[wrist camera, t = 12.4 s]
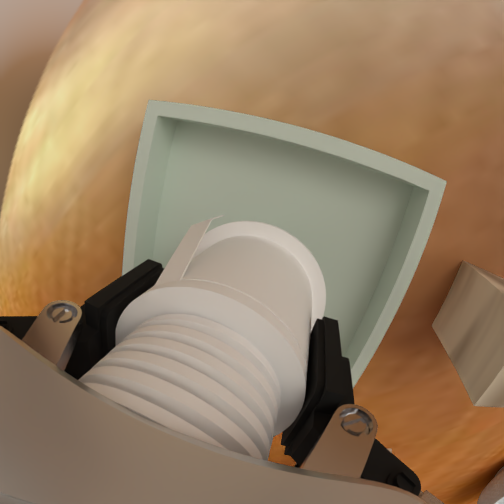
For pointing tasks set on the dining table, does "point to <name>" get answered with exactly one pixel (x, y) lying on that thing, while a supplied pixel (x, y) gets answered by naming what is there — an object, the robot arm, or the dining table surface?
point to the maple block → (475, 333)
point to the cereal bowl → (493, 490)
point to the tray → (287, 206)
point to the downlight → (220, 338)
